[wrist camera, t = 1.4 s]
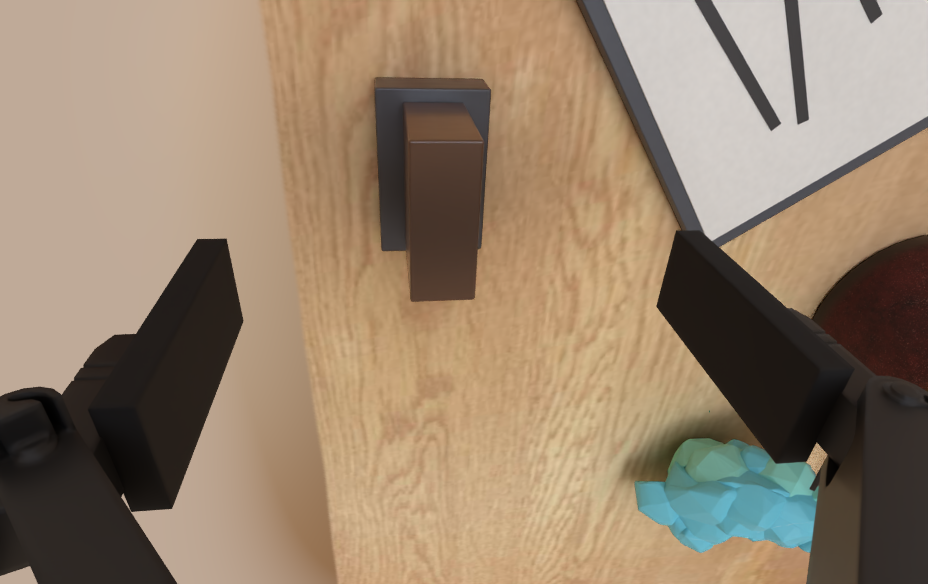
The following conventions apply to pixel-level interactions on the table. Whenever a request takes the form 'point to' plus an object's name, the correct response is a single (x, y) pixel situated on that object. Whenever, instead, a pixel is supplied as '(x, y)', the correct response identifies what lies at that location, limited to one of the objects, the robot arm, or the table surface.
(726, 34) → the whiteboard
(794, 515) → the light blue toy tree
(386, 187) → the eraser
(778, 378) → the robot arm
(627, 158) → the table surface
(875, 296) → the vase
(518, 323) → the table surface
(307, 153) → the table surface
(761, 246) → the table surface
